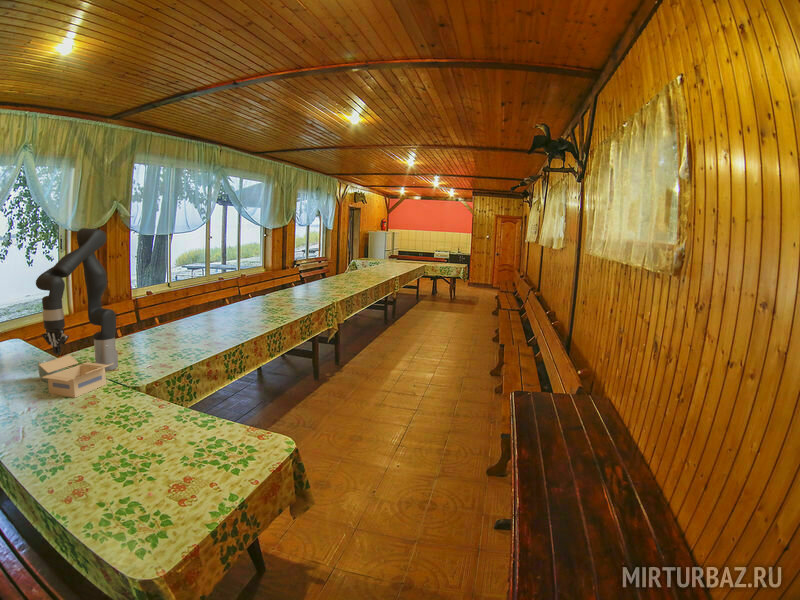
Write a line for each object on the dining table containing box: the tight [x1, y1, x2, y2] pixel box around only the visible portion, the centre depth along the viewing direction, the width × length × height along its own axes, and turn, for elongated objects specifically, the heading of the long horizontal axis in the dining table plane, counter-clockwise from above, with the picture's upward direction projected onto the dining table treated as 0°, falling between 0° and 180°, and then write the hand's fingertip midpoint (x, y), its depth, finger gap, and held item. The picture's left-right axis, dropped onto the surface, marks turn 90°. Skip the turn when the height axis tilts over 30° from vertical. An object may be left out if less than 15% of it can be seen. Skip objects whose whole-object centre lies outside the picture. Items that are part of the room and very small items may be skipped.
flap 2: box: [76, 363, 114, 377], centre depth 192 cm, size 15×6×1 cm, turn 170°
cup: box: [37, 358, 61, 383], centre depth 203 cm, size 8×8×10 cm
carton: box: [40, 361, 110, 399], centre depth 195 cm, size 22×14×9 cm, turn 170°
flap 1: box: [37, 354, 79, 373], centre depth 195 cm, size 15×6×1 cm
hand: (57, 353), depth 195 cm, fingers closed
